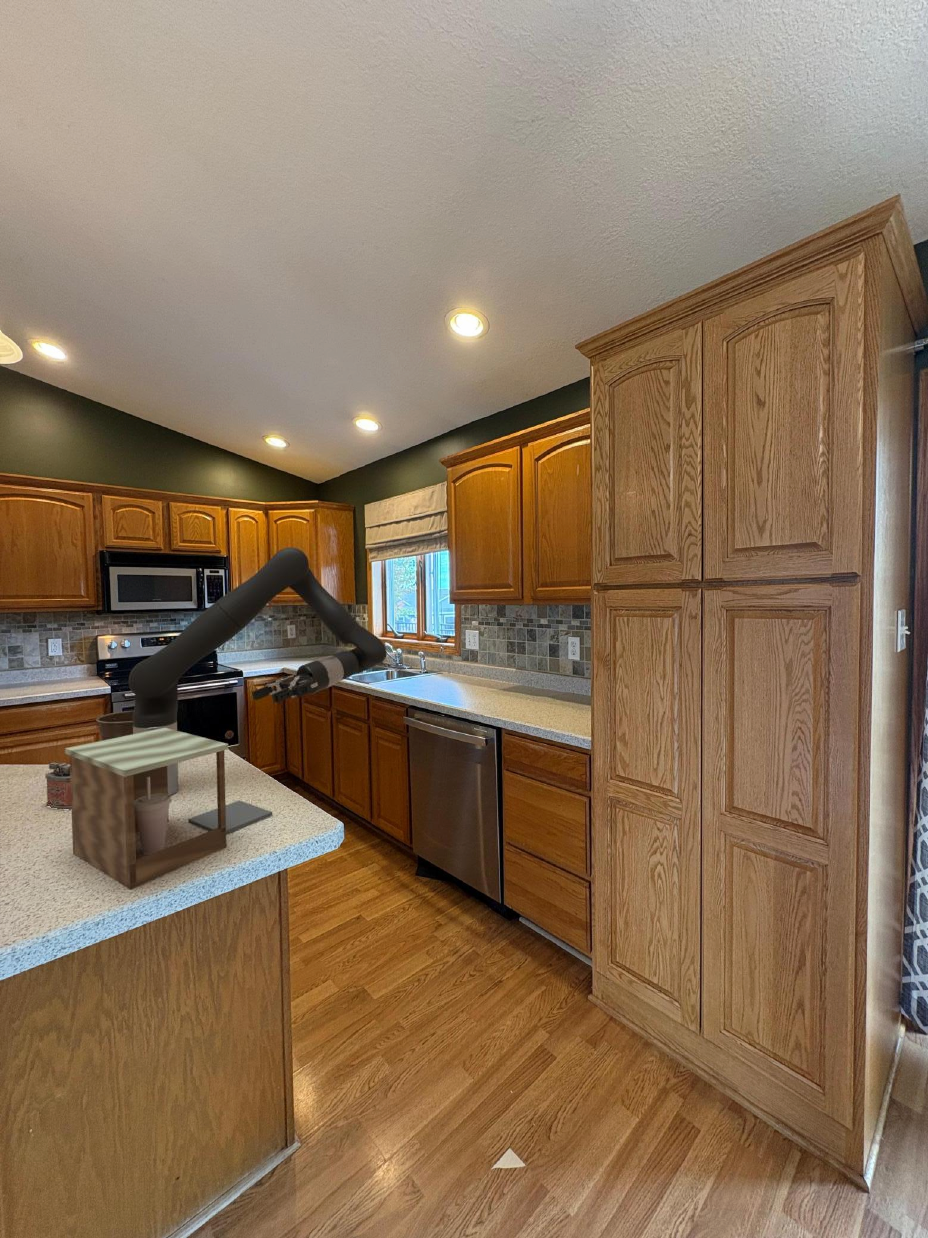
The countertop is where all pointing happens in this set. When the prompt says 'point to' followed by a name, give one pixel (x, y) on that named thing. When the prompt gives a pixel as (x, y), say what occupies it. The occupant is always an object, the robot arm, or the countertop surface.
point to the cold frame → (110, 788)
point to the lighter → (59, 786)
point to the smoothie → (152, 820)
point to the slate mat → (231, 817)
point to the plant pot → (116, 725)
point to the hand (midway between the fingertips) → (263, 697)
